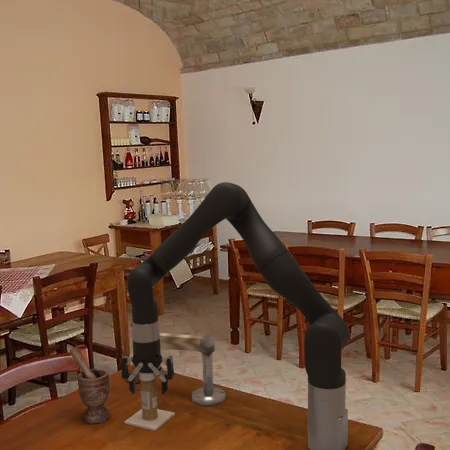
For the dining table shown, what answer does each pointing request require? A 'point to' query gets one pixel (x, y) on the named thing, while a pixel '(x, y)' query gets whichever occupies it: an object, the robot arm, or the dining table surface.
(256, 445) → the dining table surface
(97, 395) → the mortar and pestle
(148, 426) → the cream pad
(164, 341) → the swing arm
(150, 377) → the sprinkles bottle
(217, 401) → the post
